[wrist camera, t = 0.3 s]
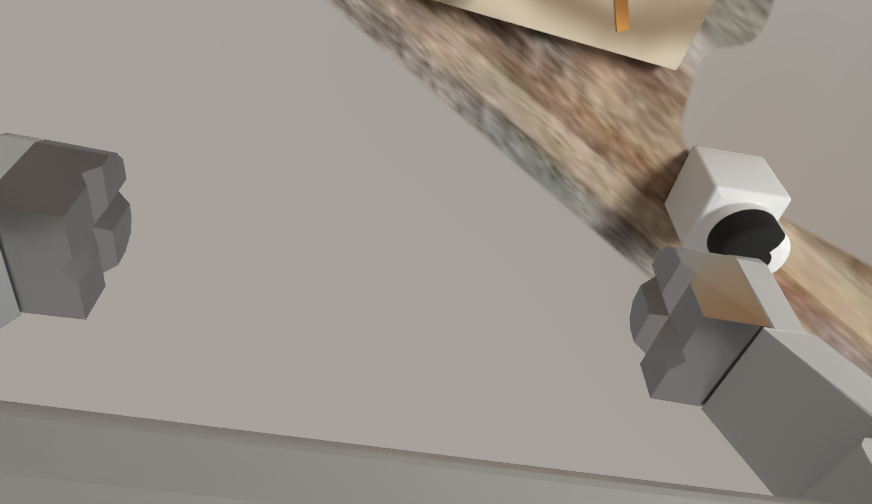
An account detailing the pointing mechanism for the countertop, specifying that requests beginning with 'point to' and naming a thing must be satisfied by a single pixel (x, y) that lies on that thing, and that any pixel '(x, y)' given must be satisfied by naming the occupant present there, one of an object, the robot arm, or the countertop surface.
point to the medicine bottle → (729, 206)
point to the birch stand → (607, 23)
